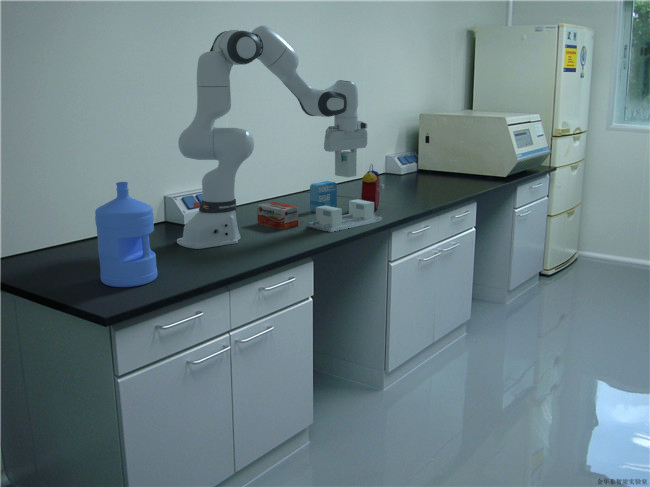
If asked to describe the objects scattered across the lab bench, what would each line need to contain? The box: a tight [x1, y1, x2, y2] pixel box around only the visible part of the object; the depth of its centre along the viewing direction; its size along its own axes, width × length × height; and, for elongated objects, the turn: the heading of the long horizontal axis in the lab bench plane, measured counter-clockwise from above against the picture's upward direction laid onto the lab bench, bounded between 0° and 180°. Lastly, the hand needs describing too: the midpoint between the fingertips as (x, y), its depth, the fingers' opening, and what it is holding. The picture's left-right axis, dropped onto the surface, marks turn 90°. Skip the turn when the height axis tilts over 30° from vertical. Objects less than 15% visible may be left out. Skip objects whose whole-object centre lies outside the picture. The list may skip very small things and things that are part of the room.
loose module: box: [334, 150, 357, 178], centre depth 251 cm, size 5×7×9 cm, turn 44°
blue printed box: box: [309, 180, 338, 213], centre depth 280 cm, size 12×4×12 cm, turn 136°
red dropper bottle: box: [360, 163, 385, 211], centre depth 280 cm, size 15×9×20 cm, turn 168°
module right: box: [348, 198, 375, 219], centre depth 262 cm, size 5×9×6 cm, turn 44°
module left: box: [315, 205, 343, 227], centre depth 250 cm, size 5×9×6 cm, turn 44°
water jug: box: [94, 181, 158, 288], centre depth 185 cm, size 16×16×28 cm
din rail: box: [307, 213, 383, 233], centre depth 257 cm, size 28×13×2 cm, turn 134°
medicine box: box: [257, 201, 299, 231], centre depth 254 cm, size 15×8×8 cm, turn 47°
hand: (345, 161), depth 251 cm, fingers closed on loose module, 5 cm apart
